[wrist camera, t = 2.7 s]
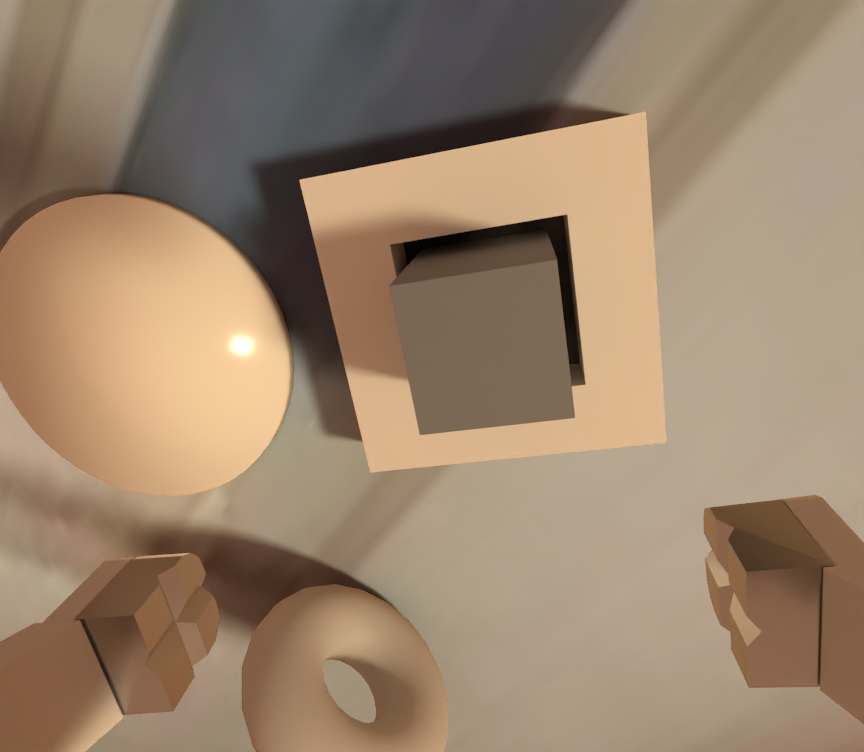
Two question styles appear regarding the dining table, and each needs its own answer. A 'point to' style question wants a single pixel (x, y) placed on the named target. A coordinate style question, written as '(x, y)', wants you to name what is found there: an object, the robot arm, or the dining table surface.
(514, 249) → the block
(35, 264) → the peach ellipsoid
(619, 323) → the pocket collar
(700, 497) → the dining table surface
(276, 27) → the dining table surface
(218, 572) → the dining table surface
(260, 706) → the donut
